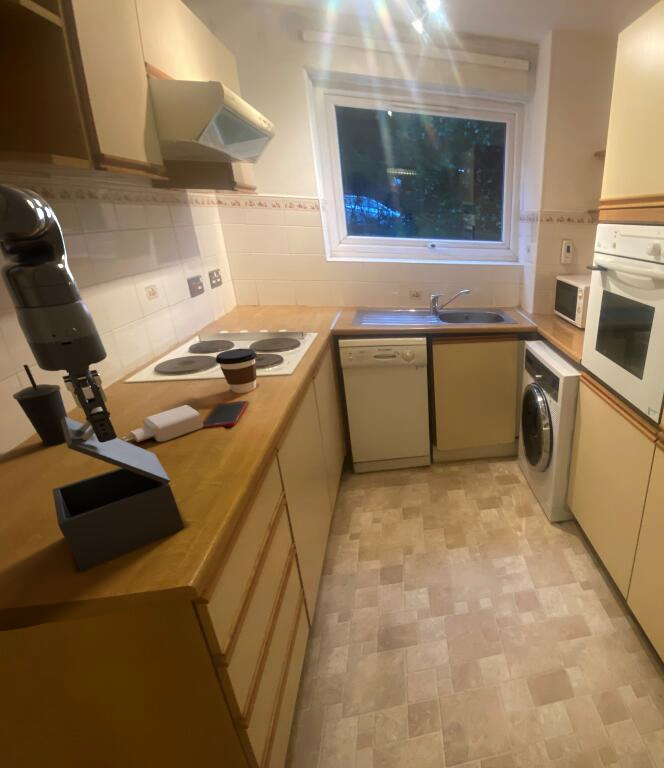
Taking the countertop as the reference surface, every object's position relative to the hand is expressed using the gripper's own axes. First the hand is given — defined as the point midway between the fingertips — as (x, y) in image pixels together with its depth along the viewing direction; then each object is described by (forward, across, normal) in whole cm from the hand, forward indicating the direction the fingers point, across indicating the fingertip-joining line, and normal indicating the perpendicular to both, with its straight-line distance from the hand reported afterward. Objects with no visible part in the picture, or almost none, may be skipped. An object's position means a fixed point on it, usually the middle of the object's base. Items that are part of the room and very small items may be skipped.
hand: (105, 433), depth 70 cm
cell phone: (+20, -39, +24) cm, 50 cm away
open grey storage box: (+19, 0, -2) cm, 19 cm away
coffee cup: (+20, -56, +34) cm, 69 cm away
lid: (+4, 0, 0) cm, 4 cm away
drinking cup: (+19, -52, -8) cm, 56 cm away
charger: (+20, -38, +10) cm, 44 cm away
